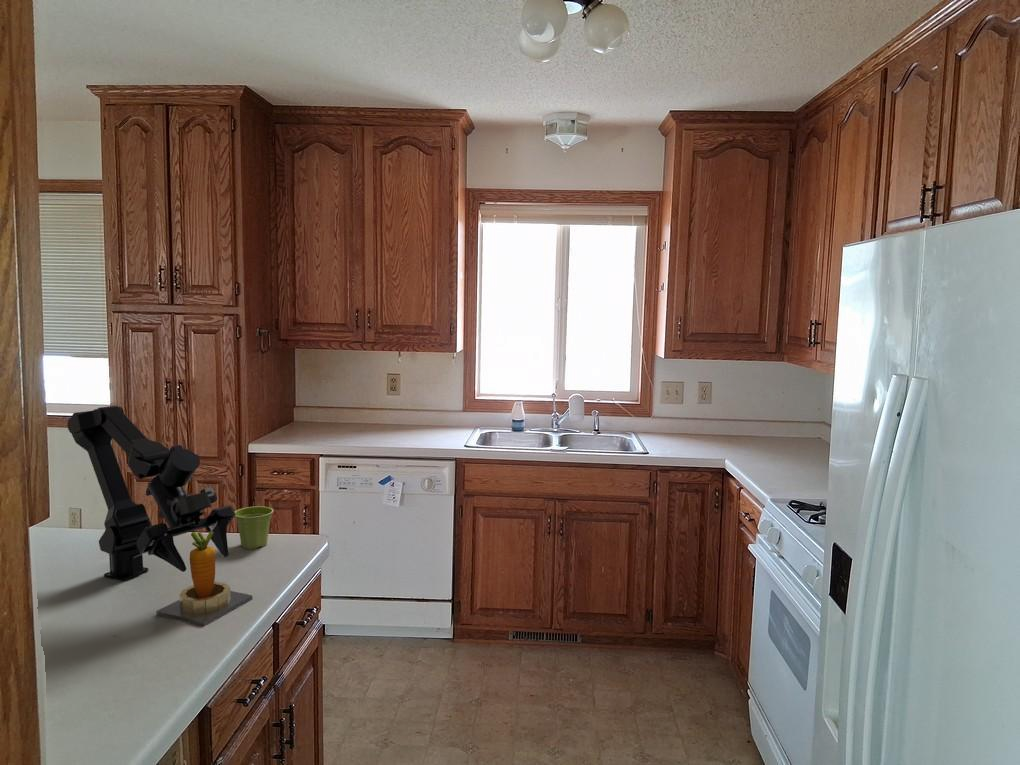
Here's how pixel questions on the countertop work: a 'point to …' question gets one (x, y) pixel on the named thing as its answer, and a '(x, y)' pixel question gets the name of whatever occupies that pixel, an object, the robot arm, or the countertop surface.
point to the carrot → (202, 565)
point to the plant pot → (253, 526)
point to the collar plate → (203, 616)
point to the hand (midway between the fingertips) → (206, 563)
